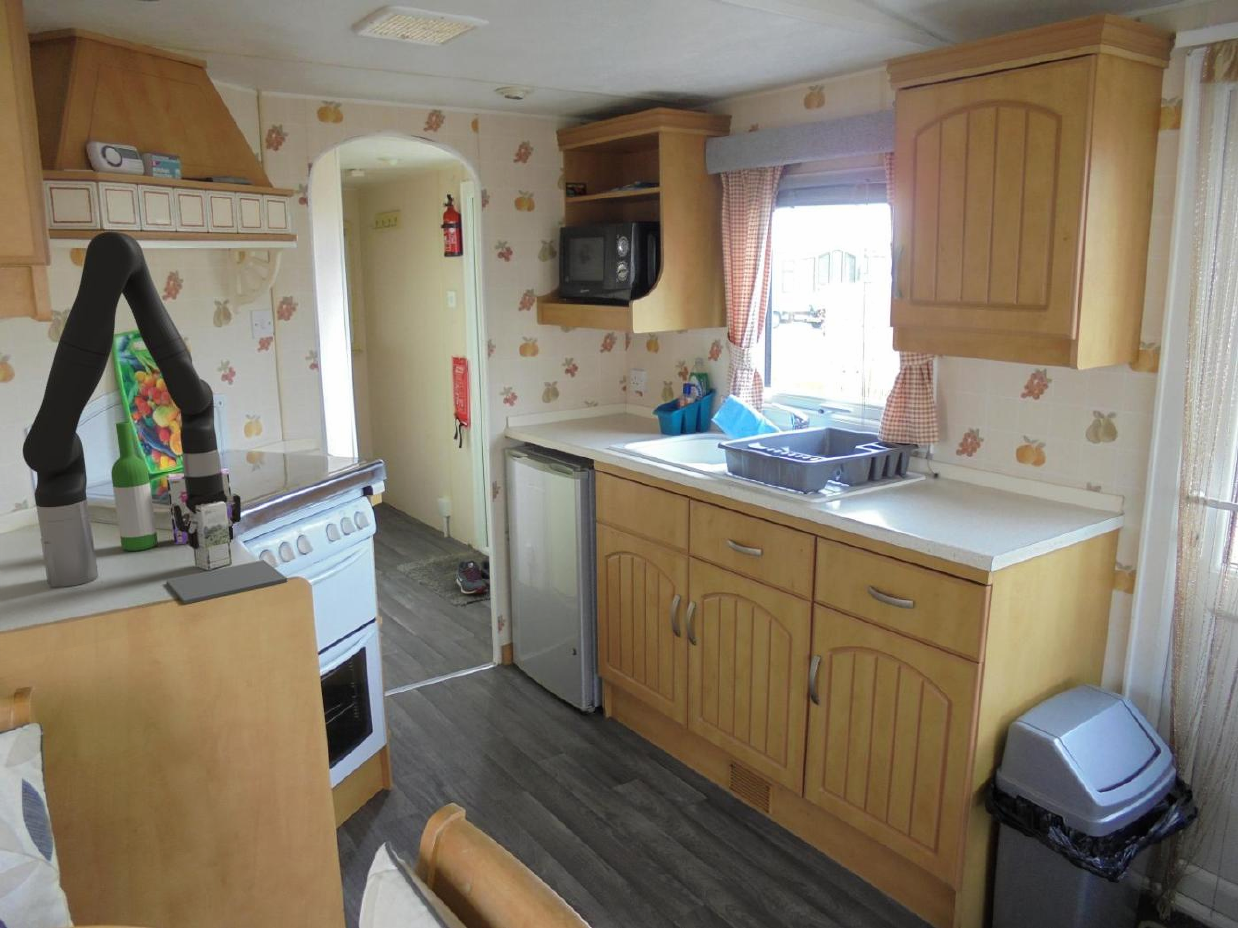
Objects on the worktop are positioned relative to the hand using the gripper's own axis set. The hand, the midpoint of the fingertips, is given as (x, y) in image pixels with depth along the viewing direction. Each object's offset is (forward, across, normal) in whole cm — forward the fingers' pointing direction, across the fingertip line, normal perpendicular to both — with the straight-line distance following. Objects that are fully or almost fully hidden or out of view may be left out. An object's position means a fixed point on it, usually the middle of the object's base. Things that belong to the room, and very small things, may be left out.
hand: (211, 544), depth 207 cm
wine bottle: (+5, -10, +27) cm, 29 cm away
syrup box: (+5, 0, 0) cm, 5 cm away
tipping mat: (+5, -1, -14) cm, 15 cm away
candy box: (+5, +4, +24) cm, 25 cm away
